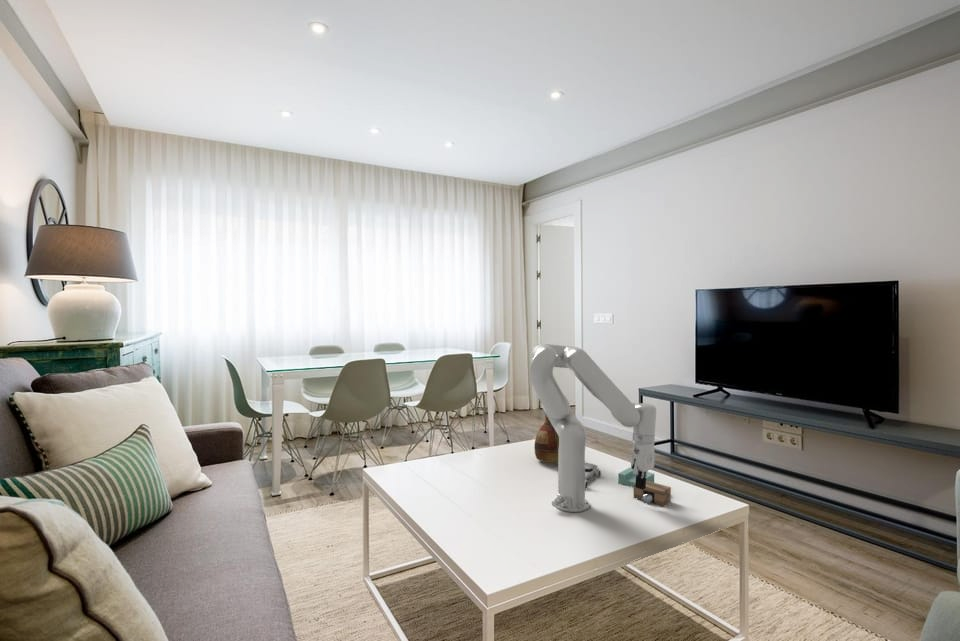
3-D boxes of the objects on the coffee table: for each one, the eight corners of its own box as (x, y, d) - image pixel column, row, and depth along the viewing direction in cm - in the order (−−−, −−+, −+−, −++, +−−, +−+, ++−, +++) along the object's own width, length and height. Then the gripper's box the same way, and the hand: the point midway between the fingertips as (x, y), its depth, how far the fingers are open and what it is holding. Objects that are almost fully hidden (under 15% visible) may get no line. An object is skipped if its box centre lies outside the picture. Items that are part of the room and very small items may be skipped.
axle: (649, 505, 172) (650, 496, 172) (641, 502, 175) (642, 494, 174) (666, 494, 182) (667, 486, 182) (658, 492, 184) (659, 484, 184)
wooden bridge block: (663, 506, 170) (663, 491, 170) (633, 497, 178) (633, 483, 178) (670, 501, 175) (670, 487, 175) (640, 493, 183) (640, 479, 183)
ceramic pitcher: (553, 452, 235) (553, 392, 235) (586, 462, 220) (586, 398, 219) (525, 460, 223) (525, 397, 222) (558, 471, 207) (558, 404, 207)
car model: (559, 486, 192) (559, 474, 191) (580, 468, 212) (580, 457, 212) (585, 491, 186) (585, 479, 186) (604, 473, 206) (604, 462, 206)
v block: (643, 489, 186) (643, 479, 186) (618, 483, 194) (618, 473, 194) (654, 483, 193) (654, 473, 193) (629, 476, 201) (629, 467, 201)
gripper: (644, 444, 163) (640, 496, 164) (662, 437, 174) (659, 486, 175) (624, 439, 169) (620, 489, 169) (642, 432, 179) (639, 480, 180)
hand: (640, 487), depth 172 cm, fingers closed
